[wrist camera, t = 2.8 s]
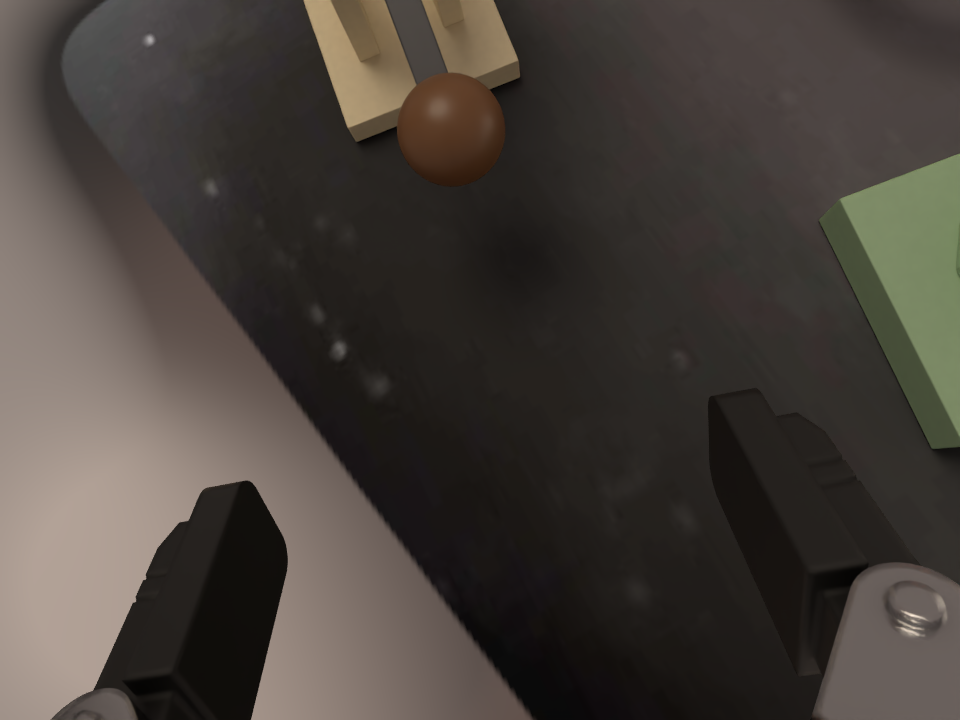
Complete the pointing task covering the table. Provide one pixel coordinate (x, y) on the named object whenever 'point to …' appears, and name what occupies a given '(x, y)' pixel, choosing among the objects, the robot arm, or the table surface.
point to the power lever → (443, 108)
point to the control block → (910, 284)
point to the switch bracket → (403, 54)
